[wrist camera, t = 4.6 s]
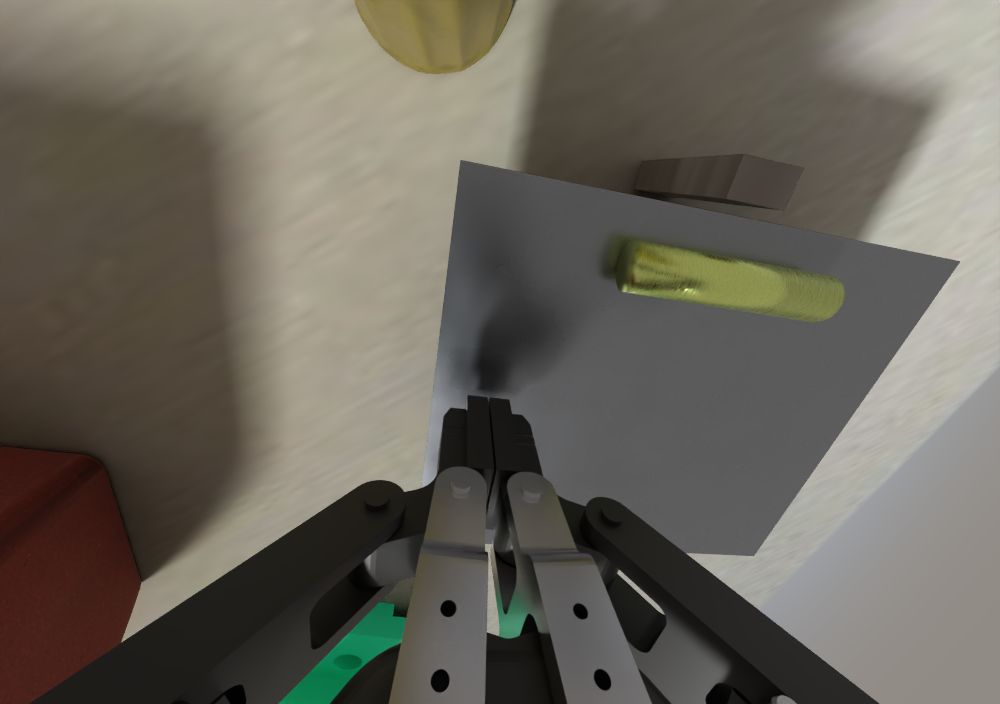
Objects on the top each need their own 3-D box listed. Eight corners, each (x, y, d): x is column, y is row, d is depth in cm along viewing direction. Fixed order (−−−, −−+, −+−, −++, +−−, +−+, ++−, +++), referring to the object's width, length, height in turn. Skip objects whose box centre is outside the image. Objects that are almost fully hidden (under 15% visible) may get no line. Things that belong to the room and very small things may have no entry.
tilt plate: (417, 522, 18) (410, 573, 16) (460, 160, 11) (459, 158, 9) (741, 539, 21) (776, 585, 19) (929, 255, 14) (1020, 272, 12)
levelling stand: (457, 468, 24) (453, 572, 18) (514, 133, 16) (542, 107, 10) (655, 485, 26) (714, 584, 20) (794, 193, 18) (967, 205, 12)
